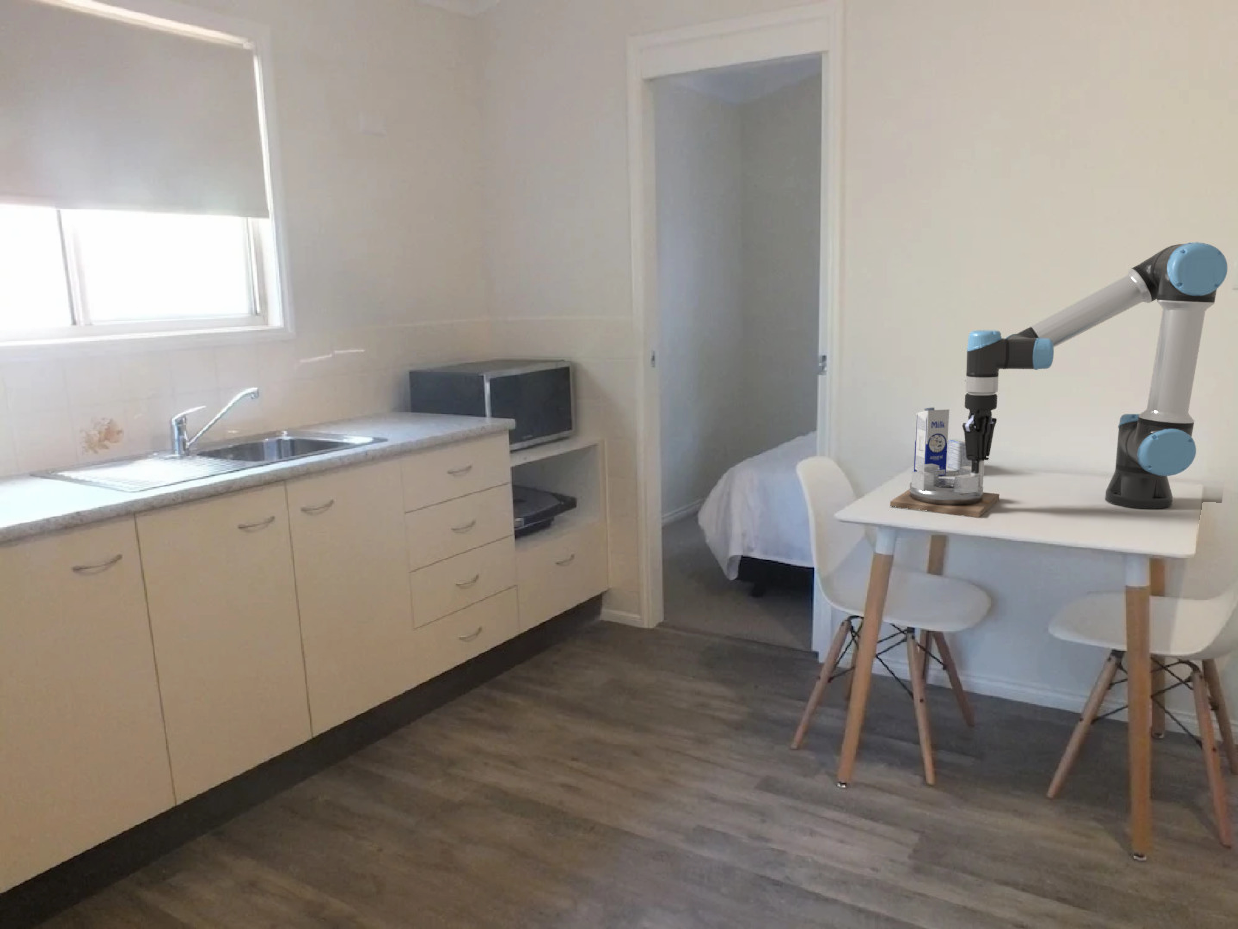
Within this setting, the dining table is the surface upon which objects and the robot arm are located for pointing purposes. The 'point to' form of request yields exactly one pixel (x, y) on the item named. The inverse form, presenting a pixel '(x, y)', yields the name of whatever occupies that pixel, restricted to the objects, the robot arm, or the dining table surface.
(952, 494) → the notched metal disc
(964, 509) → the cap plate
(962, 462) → the medicine box
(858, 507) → the dining table surface
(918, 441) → the milk carton
